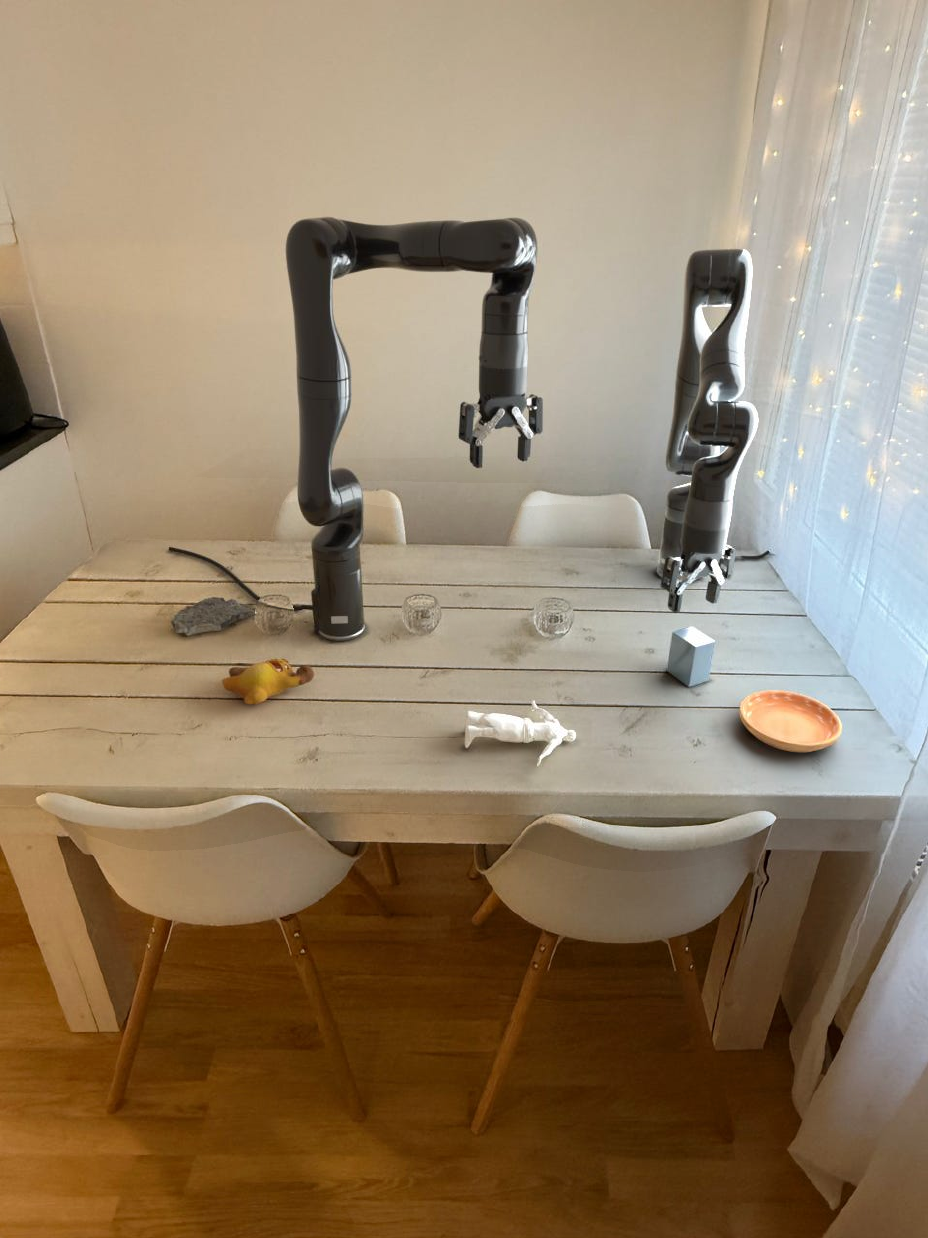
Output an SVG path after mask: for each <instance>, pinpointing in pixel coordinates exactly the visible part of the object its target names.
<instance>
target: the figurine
mask: <svg viewBox="0 0 928 1238" xmlns="http://www.w3.org/2000/svg"><path fill="white" fill-rule="evenodd" d="M529 707H530V708H531V711H530V713H532V712H535V713H536V714H537V716H538V717H539V719H541V720H543V721H544V722H532V720H531V719H530V718H528V717H522V718H521V717H518V716H514V715H510V714H504V713H496V712H495V713H493V712H490V714H489V713H487V714H486V713H482V712H475V711H472V710H471V711H470V710H468V711H467V712H466V719H465V724H464V732H465V734H464V747H465V748H466V749H468V748H469V747H470V745H471V744H472V742H473V740H474V739H475V738H482V737H483V738H484V737H485V738H492V739H495V740H498V741H499V742H509V743H522V742H523V743H525V744H530V743H531V742H533V741H544V742H547V743H548V744H547V745H546V746H545V748H544V749H543V751H542V752H541V754H540V755H539V757H538V758H537V762H536V767H539V766H540V765H541V761H542V760H543V758H545V757H547V756H549V755H550V754H551V753H552V751H553V750H554V749H555V748H556V747H557V746H559V745H561V744H562V742H563V741H565V742H570V743H571V742H574V740H575V739H576V738H577V737H576V736H577V734H576V732H575V730H574V729H565V727H563V726H561V725H560V722H559V720H558V719H557V718H554V717H553V715H552V714H550V713H549V712H548V711H547V710H545V709H543V708H541V707H538V706H537V703H535V700H534V699H533V700H532V702H531V705H530V706H529ZM476 725H477V726H484V727H477V726H476Z"/></svg>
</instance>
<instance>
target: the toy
mask: <svg viewBox="0 0 928 1238" xmlns="http://www.w3.org/2000/svg"><path fill="white" fill-rule="evenodd" d="M228 671H229V672H228V674H229V677H225V678H222V679H221V684H222V686H223V689H224V690H225V691H228V692H230V693H235V694H237V695H238V696H240V697H241V698H242V699H243V700H244V703H245V704H246V705H259V704H261V703H263V702H265V701H266V700H267V699H269V698H271V697H274V696H277V695H280V694H282V693H283V692H284V691H286V690H287V689H290V688H296V687H299V686H303V685H305V684H307V683H310V682H311V681H313V679H314V677H315V671H314V669H313V667H311V666H310V665H308V664H301V665H300V666H299V667H298V668H297V669H296V671H295V672H294V670H293V667H292V666H291V664H289V661H288V660H286V658H271V659H268V660H266V661H265V660H264V661H260V662H255V663H254V664H251V665H250V666H247V667H245V666H244V667H239V666H232V667H230V668H229V670H228Z"/></svg>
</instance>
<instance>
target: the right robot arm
mask: <svg viewBox="0 0 928 1238" xmlns="http://www.w3.org/2000/svg"><path fill="white" fill-rule="evenodd" d="M752 281H753V262H752V256H751V254H750V253H749V251H748V250H746V249H742V248H741V249H740V248H724V249H723V248H722V249H720V248H719V249H701V250H700V249H699V250H695V251H693V252H692V253H691V254H690V255H689V257H688V260H687V262H686V267H685V271H684V283H683V303H682V305H683V306H682V328H681V336H680V337H681V338H680V345H679V352H678V358H677V364H676V371H675V372H676V373H675V382H674V384H675V385H674V397H673V398H674V399H673V400H674V401H673V411H672V419H671V424H670V429H669V435H668V440H667V446H666V453H665V467H666V470H667V471H668V472H669V473H670V474H673V475H675V476H686V477H691V479H690V482H689V483H686V484H683V485H679V486H675V487H672V488H671V489H670V490H668V493H667V497H666V504H665V510H664V517H663V526H662V533H661V542H660V548H659V555H658V563H657V567H656V574H657V575H658V577H660V578H661V580H660V581H661V582H660V586H659V587H660V588H661V589H662V590H664V591H666V592H667V593H668V598H667V608H668V609H669V611H671V612H673V613H674V614H678V613H680V612H681V607H682V600H683V592H684V591H685V589H686V588H687V587H688V586H691V584H692V583H693V582H694V581H696V580H701V578H702V577H708V578H709V580H708V581H707V588H706V592H705V593H706V594H705V600H706V602H708V603H711V604H716V603H717V602H718V600H719V597H720V593H721V587H722V585H723V584H724V583H725V581H726V580H731V579H733V575H734V568H735V561H736V560H759V559H762V558H765V557H766V556H768V555H769V554H770V553H769V551H768V550H766V551H765V552H763V553H761V554H758V555H736V552H737V550H736V548H734V547H732V546H730V545H729V544H727V542H728V536H729V530H730V525H731V524H730V523H731V517H732V511H733V498H734V493H735V492H734V491H735V486H736V482H737V481H736V480H737V476H738V472H739V470H740V466H741V464H742V462H743V459H744V457H745V455H746V453H747V450H748V449H749V447H750V445H751V443H752V441H753V438H754V437H755V435H756V432H757V428H758V425H759V417H758V416H759V415H758V412H757V410H756V407H755V406H754V405H753V404H752V403H750V402H748V401H736V399H737V398H739V397H740V396H741V394H742V393H743V391H744V390H745V389H744V388H745V353H744V352H745V340H746V333H747V327H748V320H749V313H750V312H749V310H750V303H751V292H752V283H753V282H752ZM703 307H729V308H728V311H727V313H726V315H725V316H724V318H723V319H722V320H721V321H720V323H719V324H718V325H717V326H716V327H715V328H714V330H713V331H712V332H711V330H710V328H709V326H708V325H707V321H706V320H705V318H704V314H703V309H702V308H703ZM720 447H726V448H725V449H724V450H723V451H722V452H721V453H720Z"/></svg>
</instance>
